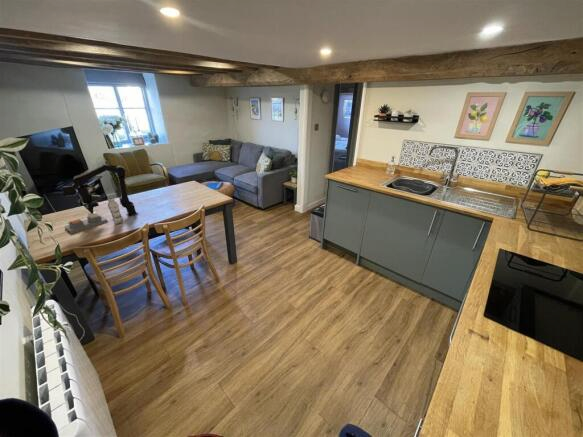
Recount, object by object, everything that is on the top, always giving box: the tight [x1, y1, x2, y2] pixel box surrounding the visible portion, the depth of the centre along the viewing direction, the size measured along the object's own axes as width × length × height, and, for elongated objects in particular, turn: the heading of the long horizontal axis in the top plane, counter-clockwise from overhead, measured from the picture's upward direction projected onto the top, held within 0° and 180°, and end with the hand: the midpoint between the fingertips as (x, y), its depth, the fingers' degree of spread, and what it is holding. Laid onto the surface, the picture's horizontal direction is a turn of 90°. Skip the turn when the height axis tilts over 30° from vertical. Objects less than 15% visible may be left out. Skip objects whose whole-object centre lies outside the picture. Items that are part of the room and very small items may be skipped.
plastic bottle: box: [107, 197, 124, 225], centre depth 174 cm, size 6×7×20 cm
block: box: [64, 214, 109, 234], centre depth 173 cm, size 12×22×5 cm, turn 147°
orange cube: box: [69, 217, 81, 224], centre depth 168 cm, size 4×4×4 cm
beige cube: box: [87, 210, 99, 218], centre depth 176 cm, size 4×4×4 cm
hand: (92, 213), depth 175 cm, fingers closed, pressing on beige cube
